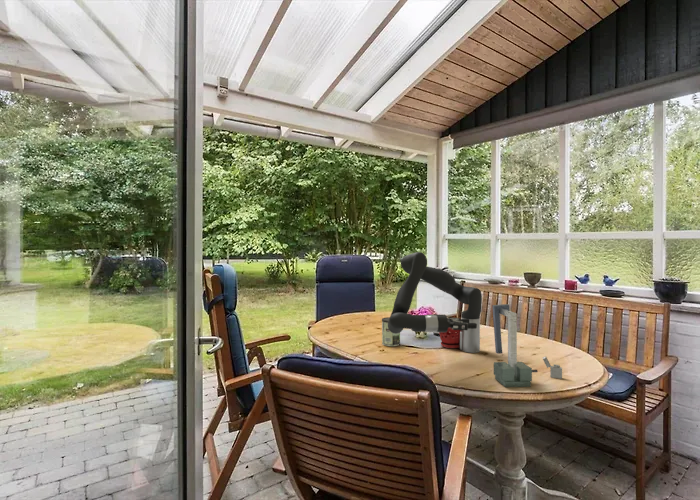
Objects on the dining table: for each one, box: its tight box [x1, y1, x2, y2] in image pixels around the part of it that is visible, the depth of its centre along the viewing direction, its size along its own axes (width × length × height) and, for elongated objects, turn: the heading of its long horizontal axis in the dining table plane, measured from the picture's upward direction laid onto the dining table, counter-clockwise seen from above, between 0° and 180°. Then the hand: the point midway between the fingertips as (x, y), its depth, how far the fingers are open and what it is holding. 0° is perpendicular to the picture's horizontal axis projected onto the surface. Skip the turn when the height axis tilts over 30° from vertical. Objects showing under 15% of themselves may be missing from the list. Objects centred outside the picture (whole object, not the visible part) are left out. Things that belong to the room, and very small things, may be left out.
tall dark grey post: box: [492, 303, 511, 354], centre depth 152 cm, size 6×2×20 cm, turn 91°
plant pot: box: [439, 328, 461, 349], centre depth 194 cm, size 13×13×12 cm
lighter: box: [542, 355, 563, 380], centre depth 148 cm, size 7×2×8 cm, turn 57°
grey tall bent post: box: [493, 309, 538, 388], centre depth 147 cm, size 16×18×28 cm
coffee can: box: [381, 316, 401, 347], centre depth 200 cm, size 10×10×14 cm
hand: (472, 323), depth 152 cm, fingers open, 8 cm apart
